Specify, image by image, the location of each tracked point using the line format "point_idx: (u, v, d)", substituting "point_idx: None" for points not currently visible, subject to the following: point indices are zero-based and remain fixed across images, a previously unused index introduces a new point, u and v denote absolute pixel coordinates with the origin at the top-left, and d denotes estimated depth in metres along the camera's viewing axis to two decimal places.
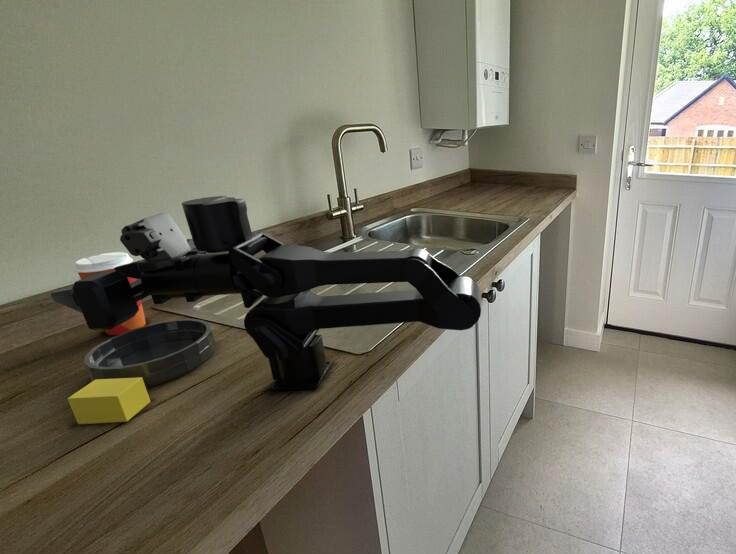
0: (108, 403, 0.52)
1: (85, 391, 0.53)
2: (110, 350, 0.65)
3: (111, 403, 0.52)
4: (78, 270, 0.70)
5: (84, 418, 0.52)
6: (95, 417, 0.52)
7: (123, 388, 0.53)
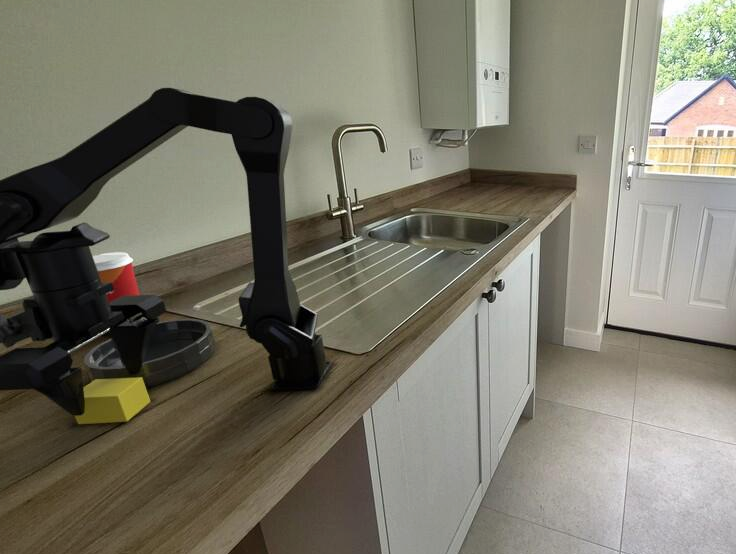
0: (108, 403, 0.52)
1: (85, 391, 0.53)
2: (110, 350, 0.65)
3: (111, 403, 0.52)
4: None
5: (84, 418, 0.52)
6: (95, 417, 0.52)
7: (123, 388, 0.53)
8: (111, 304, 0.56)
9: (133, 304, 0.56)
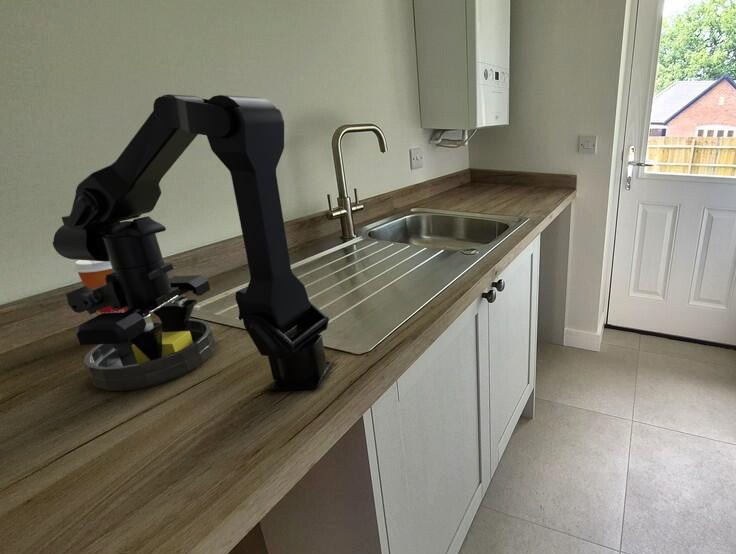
0: (164, 350, 0.63)
1: None
2: (110, 350, 0.65)
3: (166, 350, 0.63)
4: (78, 270, 0.70)
5: None
6: None
7: (176, 338, 0.64)
8: None
9: (185, 282, 0.68)
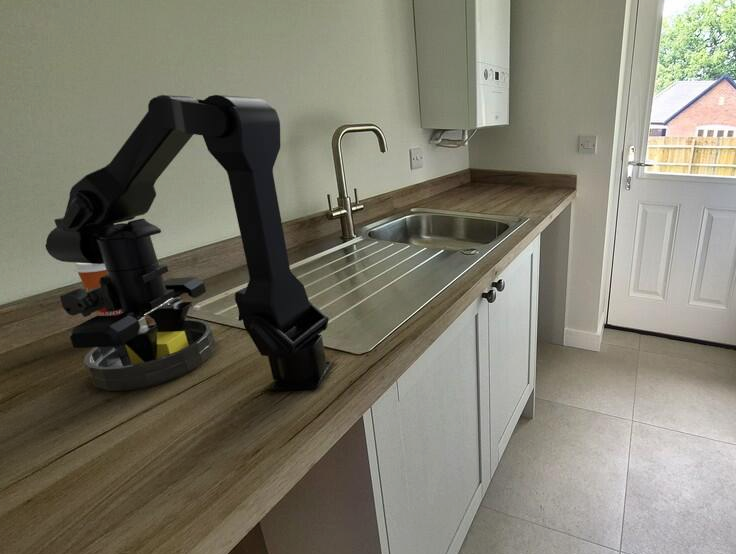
0: (158, 350, 0.63)
1: None
2: (110, 350, 0.65)
3: (161, 350, 0.63)
4: (78, 270, 0.70)
5: (138, 362, 0.63)
6: None
7: (170, 338, 0.64)
8: None
9: (180, 284, 0.67)
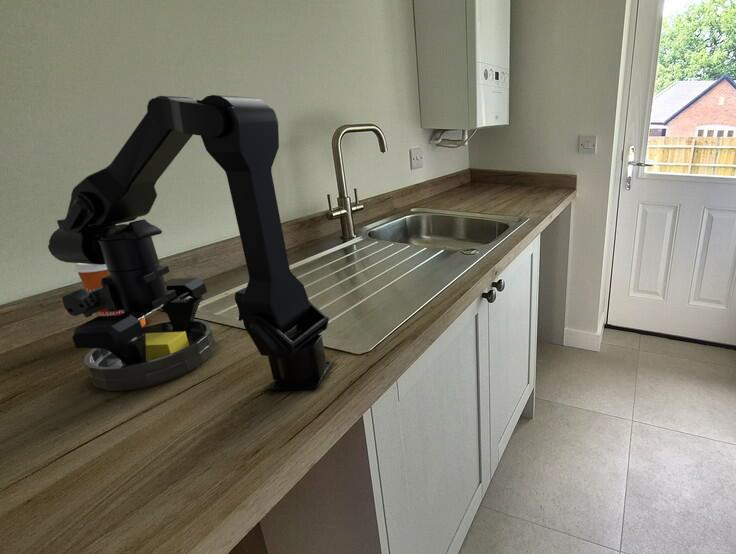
0: (160, 350, 0.63)
1: None
2: None
3: (162, 351, 0.63)
4: (78, 270, 0.70)
5: None
6: None
7: (171, 338, 0.64)
8: None
9: (182, 285, 0.68)
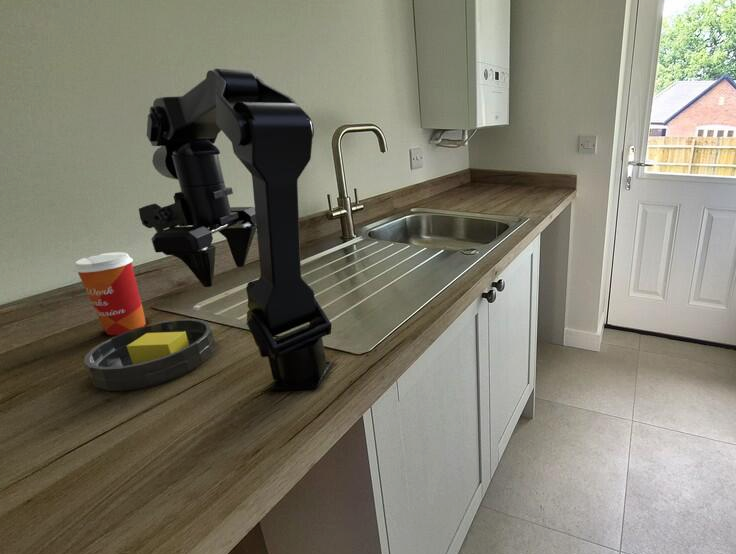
0: (160, 350, 0.63)
1: (140, 341, 0.64)
2: (110, 350, 0.65)
3: (162, 351, 0.63)
4: (78, 270, 0.70)
5: None
6: None
7: (171, 338, 0.64)
8: None
9: (241, 210, 0.71)
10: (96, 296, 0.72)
